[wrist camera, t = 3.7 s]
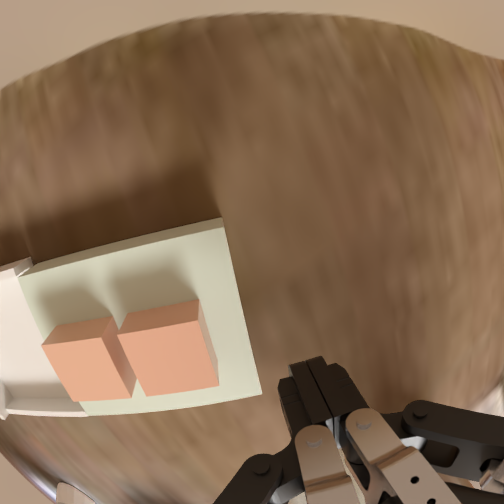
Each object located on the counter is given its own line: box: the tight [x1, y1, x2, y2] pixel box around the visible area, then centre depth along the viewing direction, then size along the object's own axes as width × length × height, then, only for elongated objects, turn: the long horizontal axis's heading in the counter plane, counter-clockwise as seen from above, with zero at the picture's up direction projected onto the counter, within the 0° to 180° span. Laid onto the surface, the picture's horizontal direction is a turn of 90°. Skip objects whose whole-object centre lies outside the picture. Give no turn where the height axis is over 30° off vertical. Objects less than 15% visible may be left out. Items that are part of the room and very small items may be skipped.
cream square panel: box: [17, 217, 262, 416], centre depth 19 cm, size 14×12×3 cm
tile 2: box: [41, 316, 137, 402], centre depth 16 cm, size 4×4×2 cm
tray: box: [0, 257, 88, 420], centre depth 18 cm, size 11×13×4 cm
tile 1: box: [117, 299, 219, 397], centre depth 17 cm, size 4×4×2 cm
